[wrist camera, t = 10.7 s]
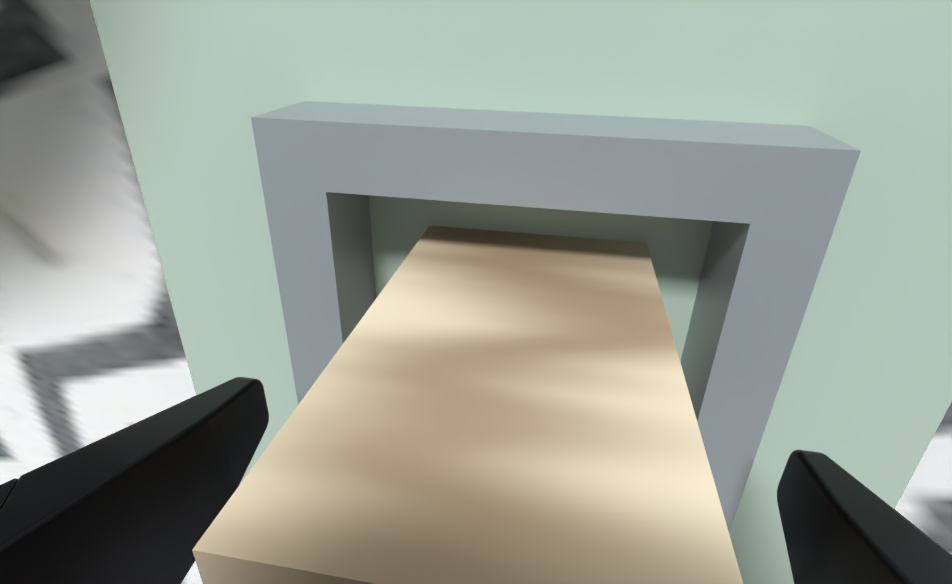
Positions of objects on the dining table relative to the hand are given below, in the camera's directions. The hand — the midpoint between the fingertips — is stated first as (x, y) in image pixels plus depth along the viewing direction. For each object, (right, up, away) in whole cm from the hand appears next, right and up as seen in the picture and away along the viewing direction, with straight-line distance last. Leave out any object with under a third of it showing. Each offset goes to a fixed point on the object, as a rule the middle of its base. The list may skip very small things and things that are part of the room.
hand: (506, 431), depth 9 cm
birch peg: (+1, +2, +3) cm, 4 cm away
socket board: (+1, +2, +4) cm, 4 cm away
